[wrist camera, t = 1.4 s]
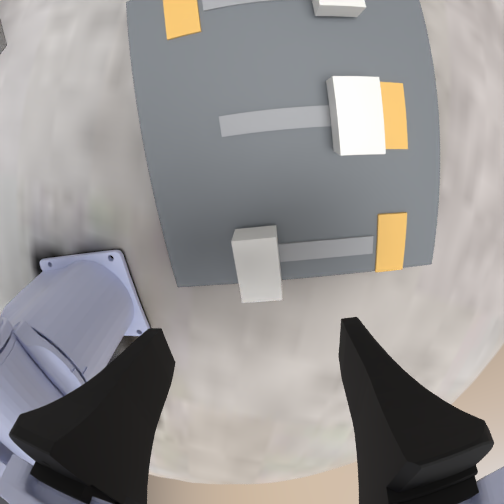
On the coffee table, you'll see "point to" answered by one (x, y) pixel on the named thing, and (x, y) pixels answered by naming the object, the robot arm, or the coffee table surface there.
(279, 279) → the switch
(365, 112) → the switch
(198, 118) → the switch board
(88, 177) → the coffee table surface
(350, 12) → the switch
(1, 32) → the white wooden shelf tower
